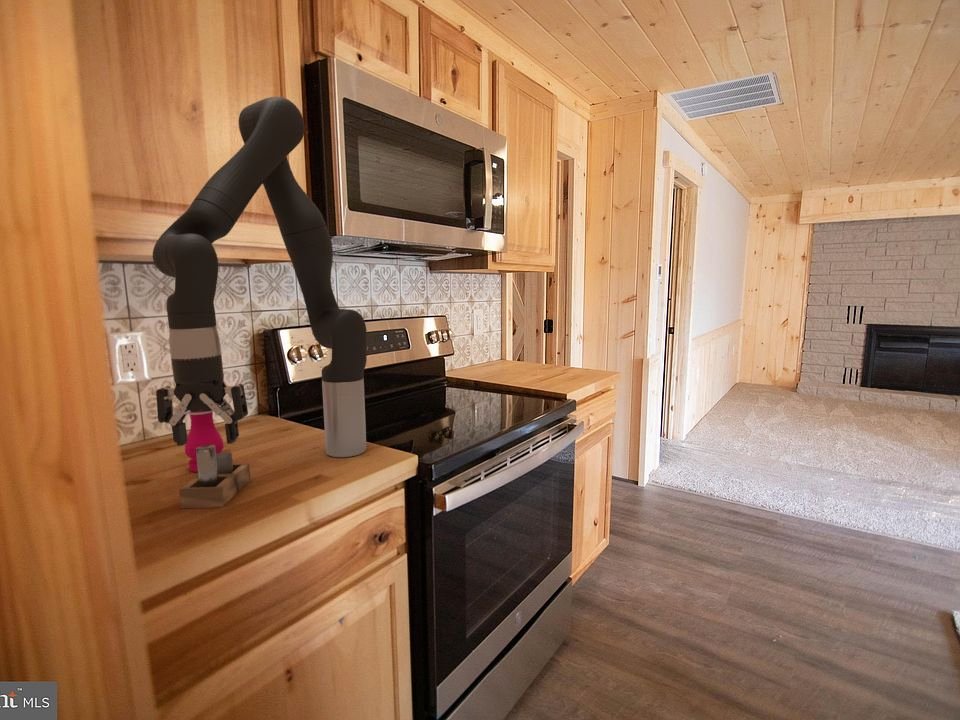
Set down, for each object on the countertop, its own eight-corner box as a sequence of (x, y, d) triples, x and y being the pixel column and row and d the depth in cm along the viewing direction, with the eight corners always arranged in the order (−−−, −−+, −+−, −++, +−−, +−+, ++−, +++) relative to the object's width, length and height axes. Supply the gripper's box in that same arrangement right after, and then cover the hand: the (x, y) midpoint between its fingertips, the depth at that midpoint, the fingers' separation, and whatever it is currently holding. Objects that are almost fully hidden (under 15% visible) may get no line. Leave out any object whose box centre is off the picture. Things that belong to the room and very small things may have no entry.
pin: (206, 497, 88) (201, 444, 87) (222, 496, 88) (218, 444, 87) (197, 504, 85) (192, 450, 84) (215, 503, 85) (210, 450, 84)
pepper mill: (216, 458, 108) (209, 371, 105) (231, 465, 104) (223, 374, 101) (181, 467, 103) (172, 375, 100) (194, 476, 98) (185, 380, 95)
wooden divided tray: (214, 480, 95) (211, 449, 94) (250, 479, 96) (248, 448, 95) (181, 508, 84) (177, 472, 83) (222, 507, 84) (219, 471, 83)
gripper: (247, 349, 87) (256, 435, 89) (166, 351, 86) (177, 438, 89) (229, 355, 79) (239, 449, 82) (139, 358, 79) (152, 452, 81)
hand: (207, 443), depth 85 cm, fingers open, 8 cm apart
